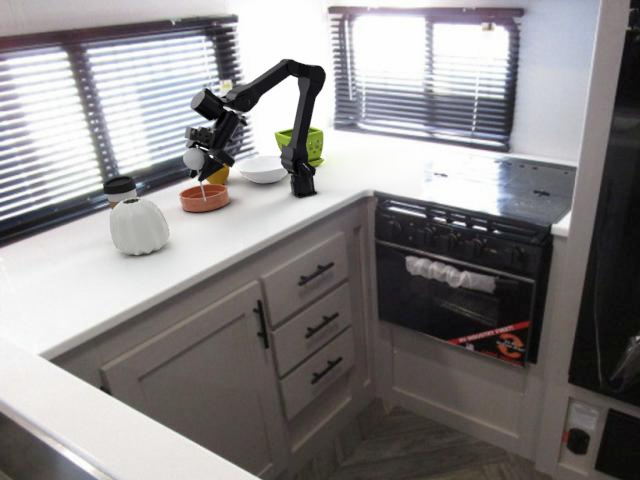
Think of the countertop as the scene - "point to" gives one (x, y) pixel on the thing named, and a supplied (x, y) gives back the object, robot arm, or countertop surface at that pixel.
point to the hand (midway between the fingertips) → (195, 179)
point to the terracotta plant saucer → (213, 194)
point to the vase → (138, 226)
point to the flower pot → (313, 137)
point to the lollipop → (195, 161)
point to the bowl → (262, 169)
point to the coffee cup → (119, 190)
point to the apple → (219, 176)
